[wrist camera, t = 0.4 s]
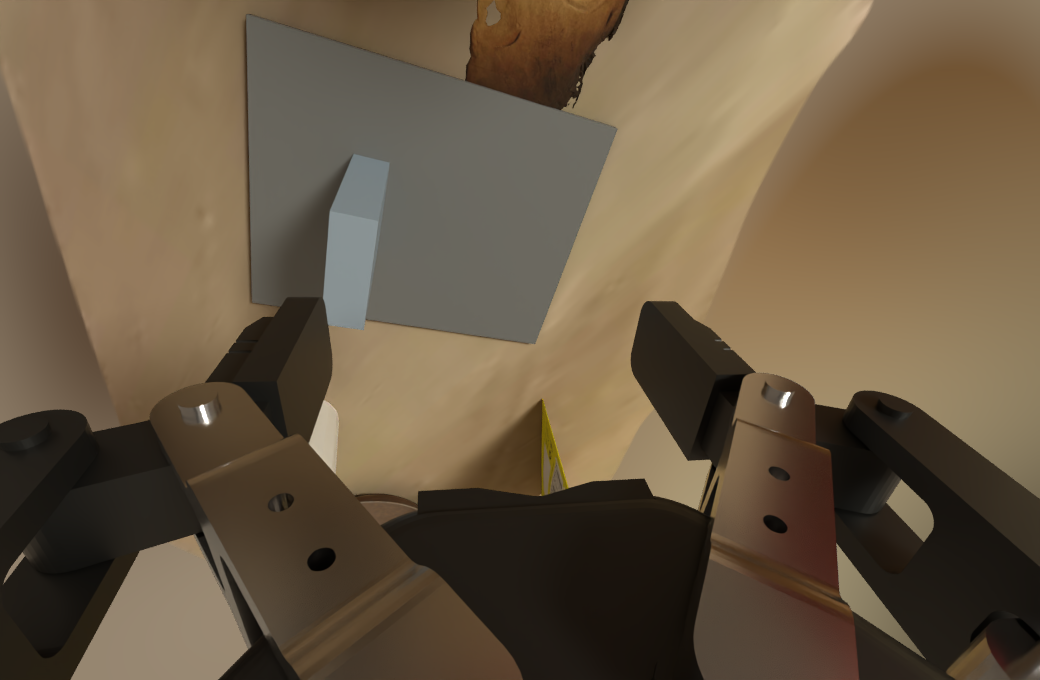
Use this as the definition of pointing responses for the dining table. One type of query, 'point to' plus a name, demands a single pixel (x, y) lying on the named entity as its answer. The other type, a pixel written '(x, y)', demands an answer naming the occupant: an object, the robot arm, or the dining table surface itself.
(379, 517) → the saucer
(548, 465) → the food package
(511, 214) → the mat
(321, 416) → the white tapered cup
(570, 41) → the parchment
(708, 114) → the dining table surface
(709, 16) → the dining table surface
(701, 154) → the dining table surface
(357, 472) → the dining table surface
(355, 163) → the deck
